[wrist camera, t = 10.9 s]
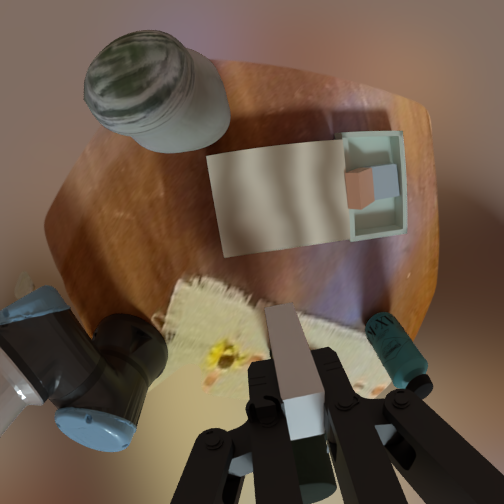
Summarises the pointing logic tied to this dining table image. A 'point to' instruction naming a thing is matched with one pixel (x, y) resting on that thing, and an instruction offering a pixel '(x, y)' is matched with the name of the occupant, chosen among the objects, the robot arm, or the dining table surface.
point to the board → (280, 196)
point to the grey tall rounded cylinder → (157, 93)
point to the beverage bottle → (398, 354)
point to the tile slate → (385, 180)
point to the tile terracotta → (359, 188)
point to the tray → (383, 210)
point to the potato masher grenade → (313, 467)
